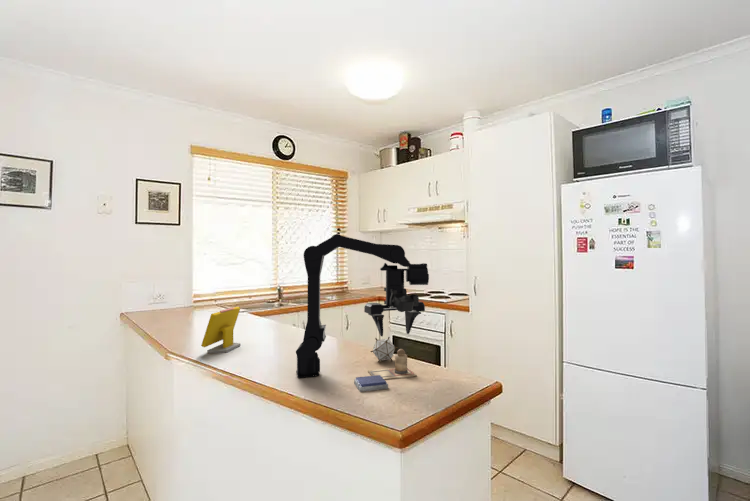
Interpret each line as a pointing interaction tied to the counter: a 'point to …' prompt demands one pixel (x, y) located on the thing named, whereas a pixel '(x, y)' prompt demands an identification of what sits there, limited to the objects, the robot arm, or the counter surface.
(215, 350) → the toy computer monitor
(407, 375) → the card sheet
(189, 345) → the counter surface
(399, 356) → the stamp
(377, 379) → the ink pad
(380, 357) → the game die
